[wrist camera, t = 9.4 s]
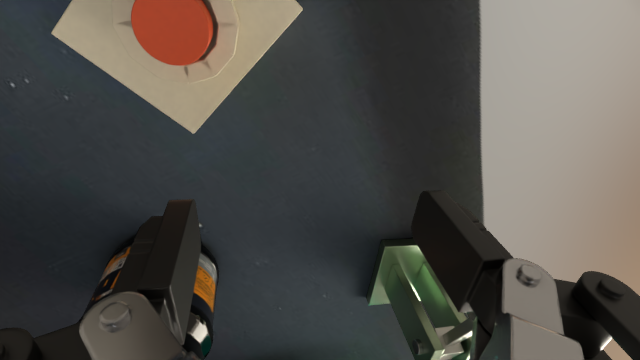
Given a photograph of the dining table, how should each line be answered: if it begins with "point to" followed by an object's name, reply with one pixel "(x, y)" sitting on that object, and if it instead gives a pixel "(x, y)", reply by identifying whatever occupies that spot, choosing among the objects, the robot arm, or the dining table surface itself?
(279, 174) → the dining table surface
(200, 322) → the supplement container
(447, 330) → the switch lever
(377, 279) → the switch bracket
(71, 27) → the button base
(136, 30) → the button
